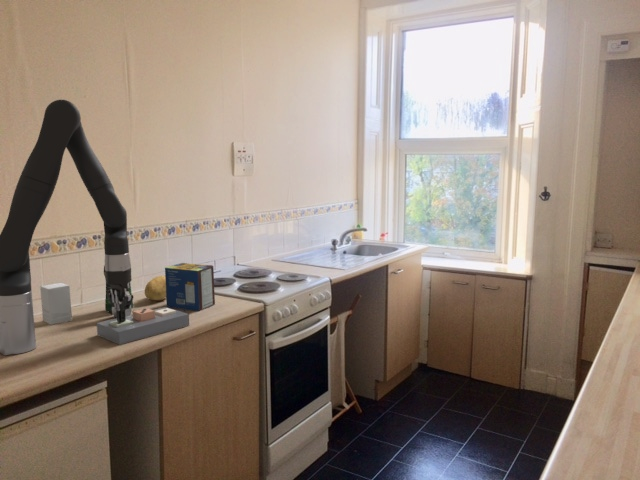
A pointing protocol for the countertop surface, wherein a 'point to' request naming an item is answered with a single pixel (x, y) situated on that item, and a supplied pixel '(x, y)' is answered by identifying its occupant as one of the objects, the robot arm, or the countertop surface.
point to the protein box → (190, 286)
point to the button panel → (142, 327)
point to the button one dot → (165, 312)
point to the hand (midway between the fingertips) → (121, 321)
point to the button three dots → (143, 314)
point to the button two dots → (120, 323)
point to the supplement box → (56, 303)
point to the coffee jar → (107, 302)
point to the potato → (156, 288)
